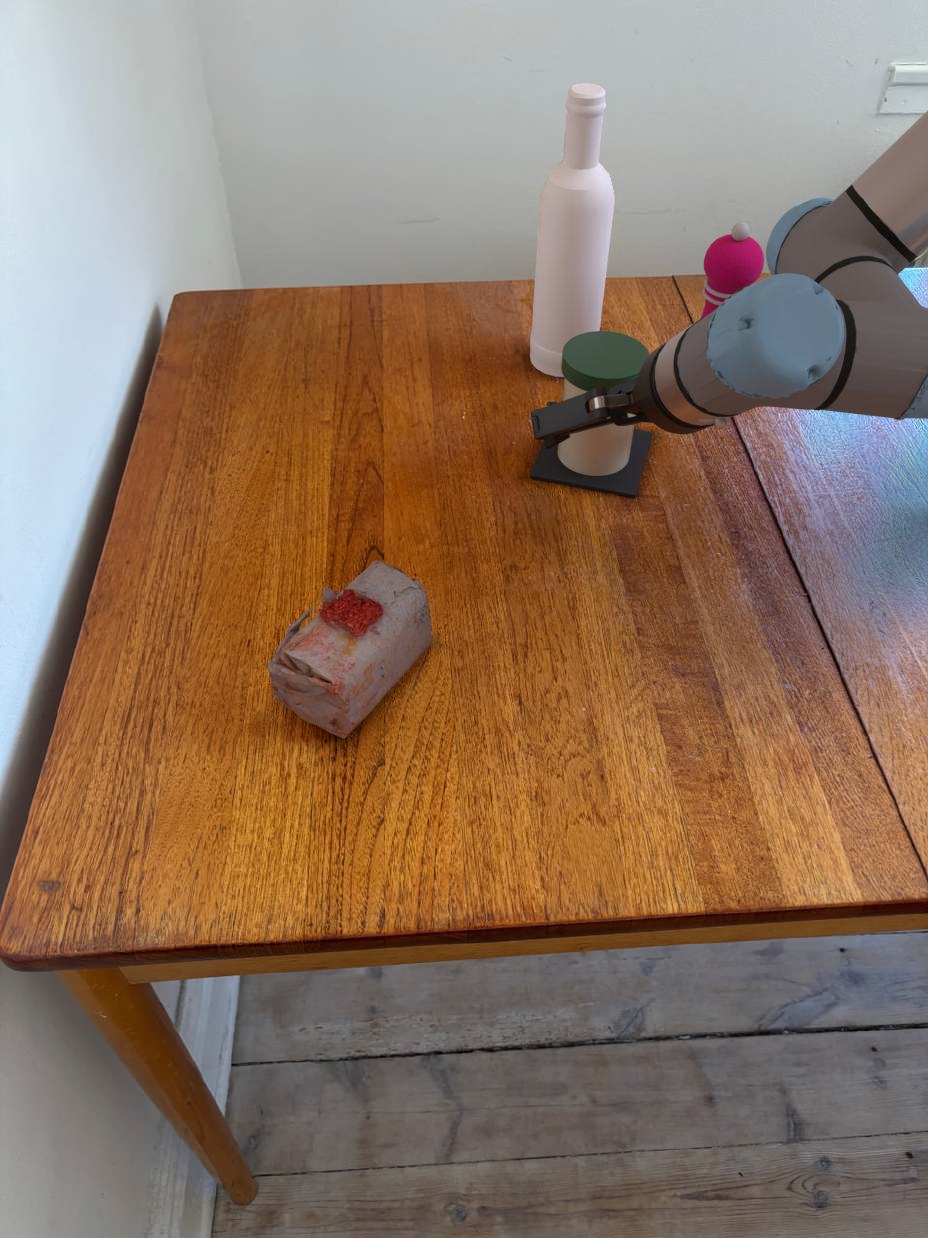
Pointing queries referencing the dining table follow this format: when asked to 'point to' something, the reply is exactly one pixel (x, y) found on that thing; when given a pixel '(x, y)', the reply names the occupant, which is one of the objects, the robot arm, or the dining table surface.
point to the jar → (595, 445)
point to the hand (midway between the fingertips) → (612, 425)
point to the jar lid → (602, 359)
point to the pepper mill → (730, 266)
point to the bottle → (572, 235)
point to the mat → (615, 483)
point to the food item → (352, 649)
